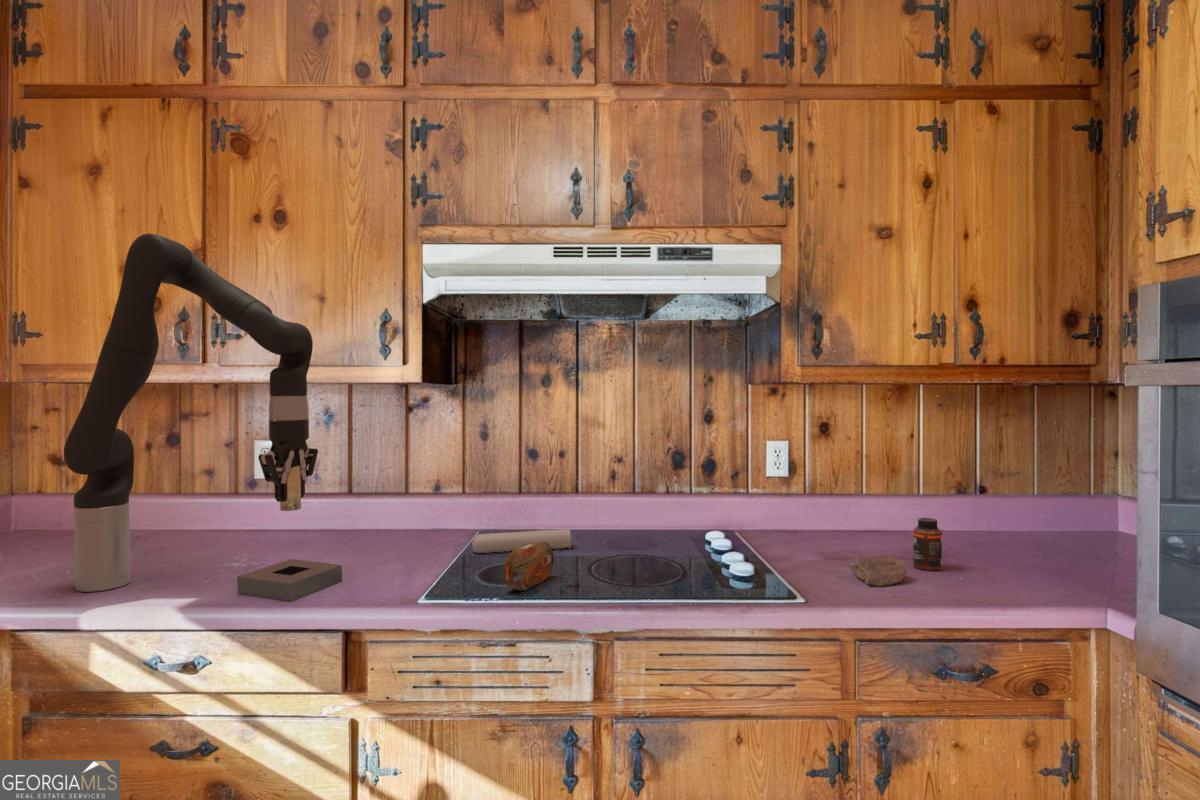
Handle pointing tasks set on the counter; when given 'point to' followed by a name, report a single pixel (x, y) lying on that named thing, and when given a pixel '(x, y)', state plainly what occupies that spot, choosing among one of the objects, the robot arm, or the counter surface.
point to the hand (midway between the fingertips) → (290, 499)
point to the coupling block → (289, 579)
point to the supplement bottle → (927, 545)
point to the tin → (528, 565)
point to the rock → (879, 570)
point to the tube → (521, 540)
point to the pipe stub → (292, 490)
